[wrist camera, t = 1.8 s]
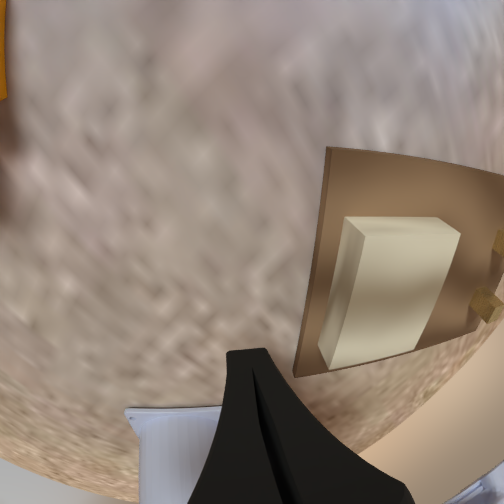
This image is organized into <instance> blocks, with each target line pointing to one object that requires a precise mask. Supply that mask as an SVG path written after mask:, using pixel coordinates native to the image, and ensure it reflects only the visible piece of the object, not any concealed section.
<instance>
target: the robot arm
mask: <svg viewBox="0 0 504 504" xmlns="http://www.w3.org/2000/svg"><path fill="white" fill-rule="evenodd" d="M226 362H227V377H226V386H225V392H224V398H223V404H222V406H215V407H198V408H167V409H146V408H127V409H125V412H124V414H125V416H126V418H127V420H128V422H129V423H130V425H131V427H132V428H133V430H134V432H135V433H136V435H137V436H138V438H139V440H140V442H139V504H415V502H414V500H413V498H412V496H411V494H410V492H409V490H408V489H407V487H406V486H405V484H404V483H402V482H401V481H399V480H397V479H395V478H393V477H390V476H389V475H387V474H386V473H384V472H382V471H380V470H379V469H377V468H376V467H374V466H372V465H371V464H369V463H368V462H366V461H365V460H363V459H362V458H361V457H359V456H358V455H357V454H355V453H354V452H353V451H351V450H350V449H349V448H348V447H346V446H345V445H344V444H343V443H341V442H340V441H339V440H338V439H337V438H336V437H335V436H333V435H332V434H331V433H330V432H329V431H328V430H327V429H326V428H325V427H324V426H323V425H322V424H321V423H320V422H319V421H318V420H317V419H316V418H315V417H314V416H313V415H312V413H311V412H310V411H309V410H308V409H307V408H306V407H305V405H304V404H303V403H302V402H301V401H300V399H299V398H298V397H297V396H296V394H295V393H294V392H293V390H292V389H291V388H290V386H289V385H288V384H287V382H286V381H285V379H284V378H283V376H282V375H281V373H280V372H279V370H278V369H277V367H276V365H275V364H274V362H273V360H272V359H271V357H270V355H269V353H268V351H267V349H265V348H255V349H245V350H233V351H228V352H227V353H226ZM442 504H504V460H503V461H502V462H500V463H499V464H498V465H497V466H495V467H494V468H493V469H492V470H490V471H489V472H487V473H486V474H484V475H482V476H481V477H480V478H478V479H477V480H475V481H474V482H472V483H471V484H470V485H468V486H467V487H465V488H464V489H462V490H461V491H460V493H458V494H457V495H455V496H454V497H452V498H450V499H449V500H447V501H446V502H444V503H442Z"/></svg>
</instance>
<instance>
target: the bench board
mask: <svg viewBox="0 0 504 504" xmlns="http://www.w3.org/2000/svg"><path fill="white" fill-rule="evenodd" d="M344 217H438V218H439V219H441V220H442V221H444V222H445V223H446V224H448V225H449V226H451V227H452V228H454V229H455V230H457V231H458V232H459V233H461V235H460V238H459V241H458V244H457V247H456V251H455V253H454V256H453V259H452V262H451V265H450V268H449V271H448V273H447V276H446V279H445V281H444V284H443V286H442V289H441V291H440V294H439V296H438V299H437V301H436V303H435V306H434V308H433V310H432V312H431V315H430V317H429V319H428V321H427V324H426V326H425V328H424V330H423V332H422V334H421V336H420V338H419V340H418V342H417V344H416V346H415V348H414V350H411V351H407V352H404V353H400V354H396V355H393V356H389V357H385V358H381V359H377V360H373V361H369V362H364V363H360V364H355V365H351V366H346V367H341V368H336V369H331V370H329V369H328V367H327V365H326V362H325V360H324V358H323V356H322V353H321V351H320V349H319V347H318V341H319V337H320V333H321V329H322V325H323V321H324V317H325V313H326V308H327V304H328V299H329V295H330V290H331V286H332V281H333V276H334V271H335V266H336V261H337V256H338V250H339V245H340V240H341V234H342V228H343V222H344ZM498 229H504V176H503V175H500V174H496V173H492V172H488V171H484V170H480V169H475V168H471V167H466V166H462V165H457V164H452V163H447V162H442V161H437V160H431V159H425V158H419V157H413V156H407V155H400V154H393V153H386V152H378V151H369V150H360V149H350V148H339V147H327V146H326V156H325V166H324V176H323V185H322V193H321V202H320V210H319V218H318V225H317V233H316V240H315V247H314V254H313V260H312V267H311V273H310V279H309V285H308V291H307V297H306V303H305V309H304V314H303V320H302V325H301V331H300V336H299V341H298V346H297V351H296V356H295V361H294V366H293V374H294V377H295V378H298V377H304V376H310V375H316V374H321V373H327V372H332V371H337V370H342V369H346V368H351V367H356V366H360V365H364V364H369V363H373V362H377V361H381V360H385V359H389V358H392V357H396V356H400V355H403V354H407V353H410V352H414V351H417V350H420V349H424V348H427V347H430V346H433V345H436V344H439V343H442V342H445V341H448V340H451V339H454V338H457V337H460V336H462V335H465V334H468V333H471V332H473V331H476V329H477V327H478V325H479V323H480V321H481V320H482V318H481V317H480V316H479V315H478V314H477V313H476V312H475V311H474V310H473V309H472V307H471V306H470V305H469V303H470V301H471V299H472V297H473V294H474V292H475V290H476V289H478V288H482V287H487V288H488V289H489V290H490V291H491V292H492V293H493V294H494V293H495V291H496V289H497V287H498V284H499V282H500V280H501V277H502V275H503V273H504V257H503V256H501V255H500V254H499V253H497V252H496V251H495V250H494V249H492V246H493V244H494V241H495V238H496V235H497V231H498Z"/></svg>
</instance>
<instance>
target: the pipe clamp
mask: <svg viewBox="0 0 504 504" xmlns="http://www.w3.org/2000/svg"><path fill="white" fill-rule="evenodd" d="M5 10H6V0H0V101H1V100H3V99H5V98H7V88H6V75H5V54H4V30H5Z"/></svg>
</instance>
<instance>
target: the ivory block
mask: <svg viewBox="0 0 504 504" xmlns="http://www.w3.org/2000/svg"><path fill="white" fill-rule="evenodd" d="M460 235H461V233H459V232H458V231H457V230H455V229H454V228H452V227H451V226H449V225H448V224H446V223H445V222H444V221H442V220H441V219H439V218H438V217H344V222H343V228H342V234H341V240H340V245H339V250H338V256H337V261H336V266H335V271H334V276H333V281H332V286H331V290H330V295H329V299H328V304H327V308H326V313H325V317H324V321H323V325H322V329H321V333H320V337H319V341H318V347H319V349H320V351H321V353H322V356H323V358H324V360H325V362H326V365H327V367H328V369H329V370H331V369H336V368H341V367H346V366H351V365H355V364H360V363H364V362H369V361H373V360H377V359H381V358H385V357H389V356H393V355H396V354H400V353H404V352H407V351H411V350H414V348H415V346H416V344H417V342H418V340H419V338H420V336H421V334H422V332H423V330H424V328H425V326H426V324H427V321H428V319H429V317H430V315H431V312H432V310H433V308H434V306H435V303H436V301H437V299H438V296H439V294H440V291H441V289H442V286H443V284H444V281H445V279H446V276H447V273H448V271H449V268H450V265H451V262H452V259H453V256H454V253H455V251H456V247H457V244H458V241H459V238H460Z"/></svg>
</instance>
